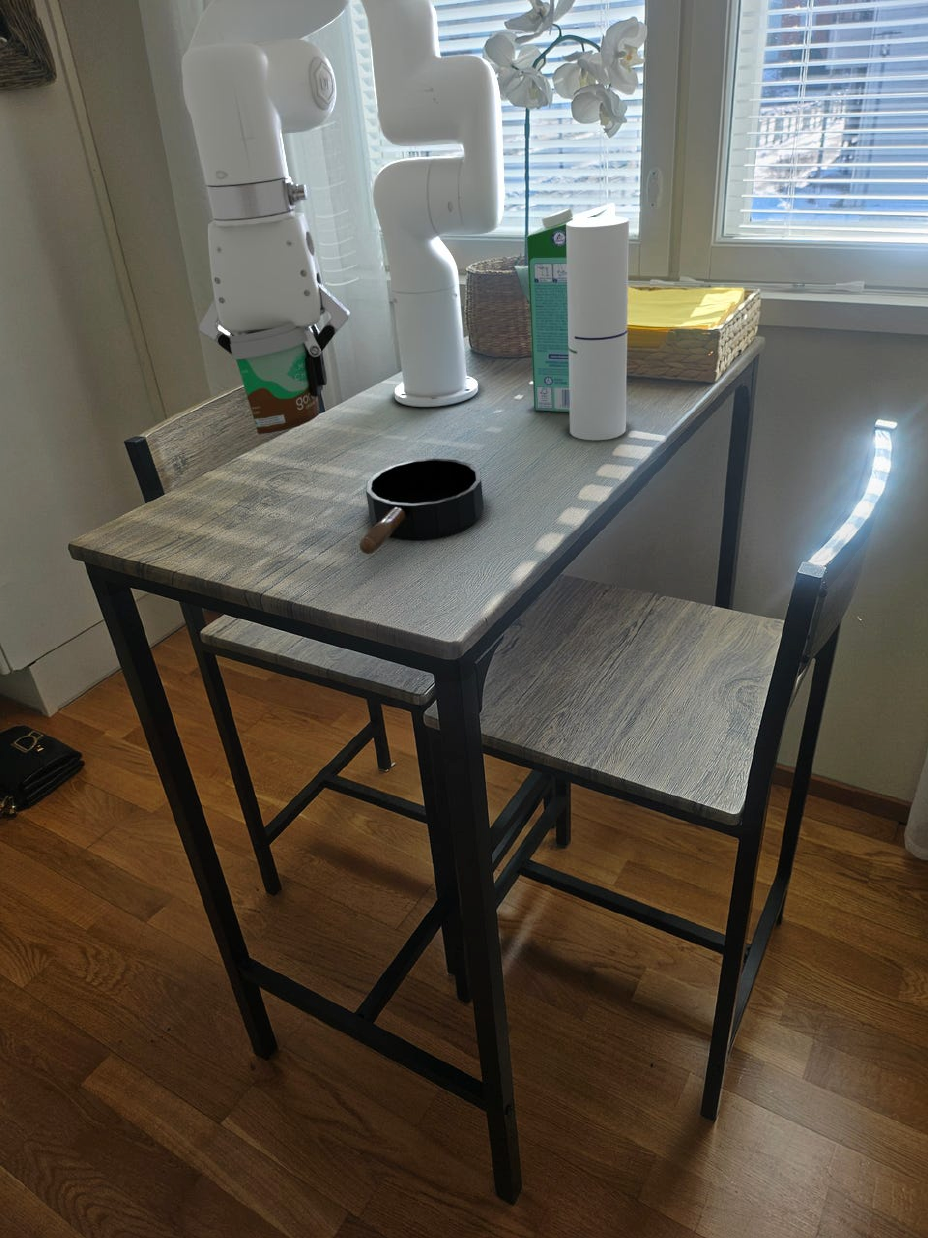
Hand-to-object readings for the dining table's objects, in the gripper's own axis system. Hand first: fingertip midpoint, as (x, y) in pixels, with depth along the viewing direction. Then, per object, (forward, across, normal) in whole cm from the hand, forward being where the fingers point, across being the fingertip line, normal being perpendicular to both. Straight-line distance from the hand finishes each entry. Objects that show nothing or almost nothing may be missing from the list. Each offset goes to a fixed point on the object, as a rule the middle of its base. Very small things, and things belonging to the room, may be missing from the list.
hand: (288, 392), depth 91 cm
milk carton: (+14, -32, -33) cm, 48 cm away
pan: (+14, -12, +5) cm, 19 cm away
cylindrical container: (+14, -34, -21) cm, 43 cm away
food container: (+3, -1, 0) cm, 3 cm away
